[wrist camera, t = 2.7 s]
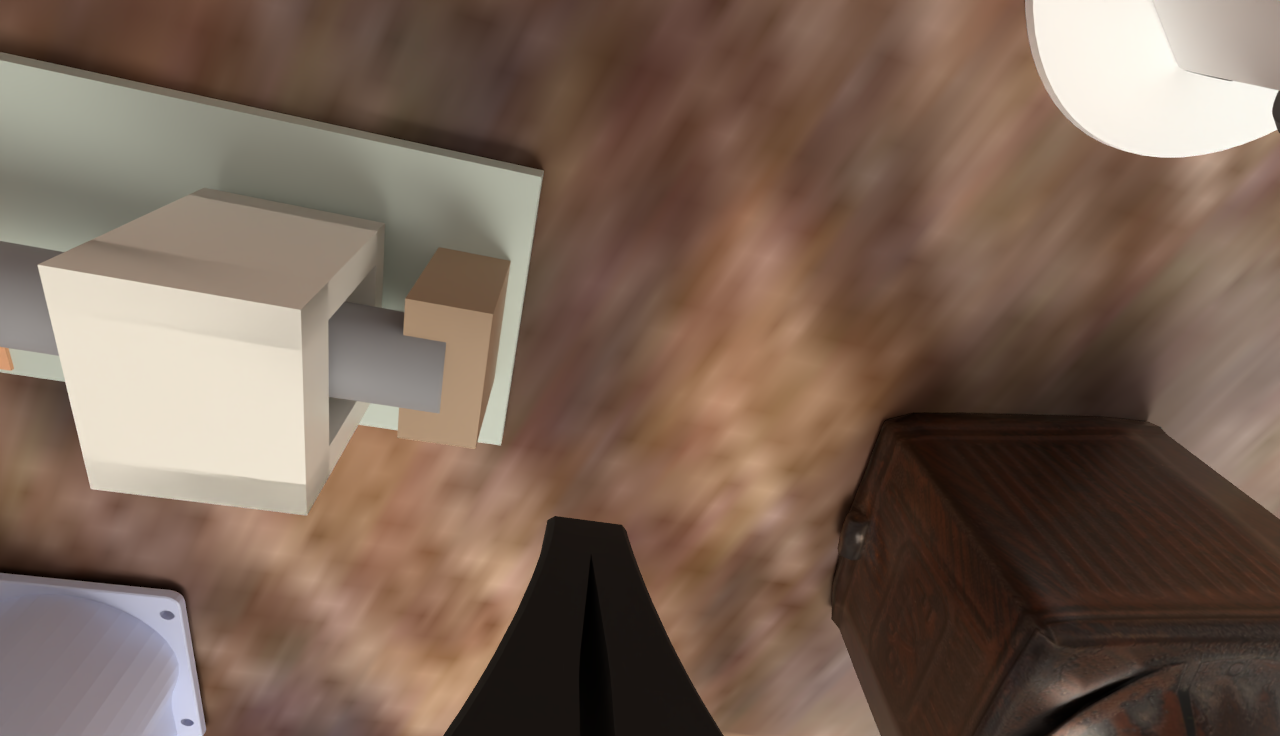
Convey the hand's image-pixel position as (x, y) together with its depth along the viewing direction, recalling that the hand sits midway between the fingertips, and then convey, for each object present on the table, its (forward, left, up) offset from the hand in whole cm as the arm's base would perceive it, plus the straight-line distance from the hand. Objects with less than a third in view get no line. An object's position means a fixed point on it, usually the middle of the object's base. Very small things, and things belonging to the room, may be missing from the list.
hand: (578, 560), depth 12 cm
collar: (0, +8, -8) cm, 12 cm away
